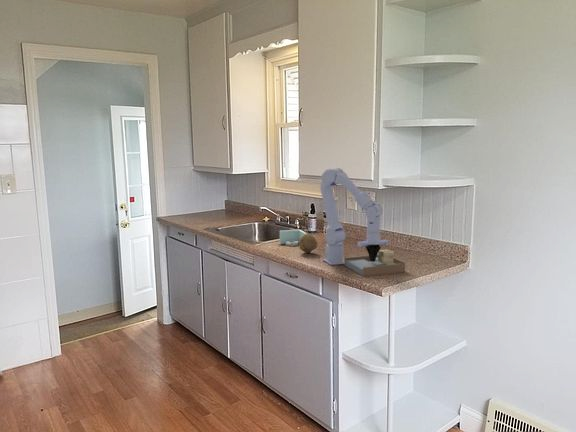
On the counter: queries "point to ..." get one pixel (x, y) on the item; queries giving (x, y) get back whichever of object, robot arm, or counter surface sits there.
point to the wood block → (385, 256)
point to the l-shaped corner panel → (291, 237)
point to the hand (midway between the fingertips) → (372, 261)
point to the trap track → (373, 265)
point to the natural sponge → (308, 243)
